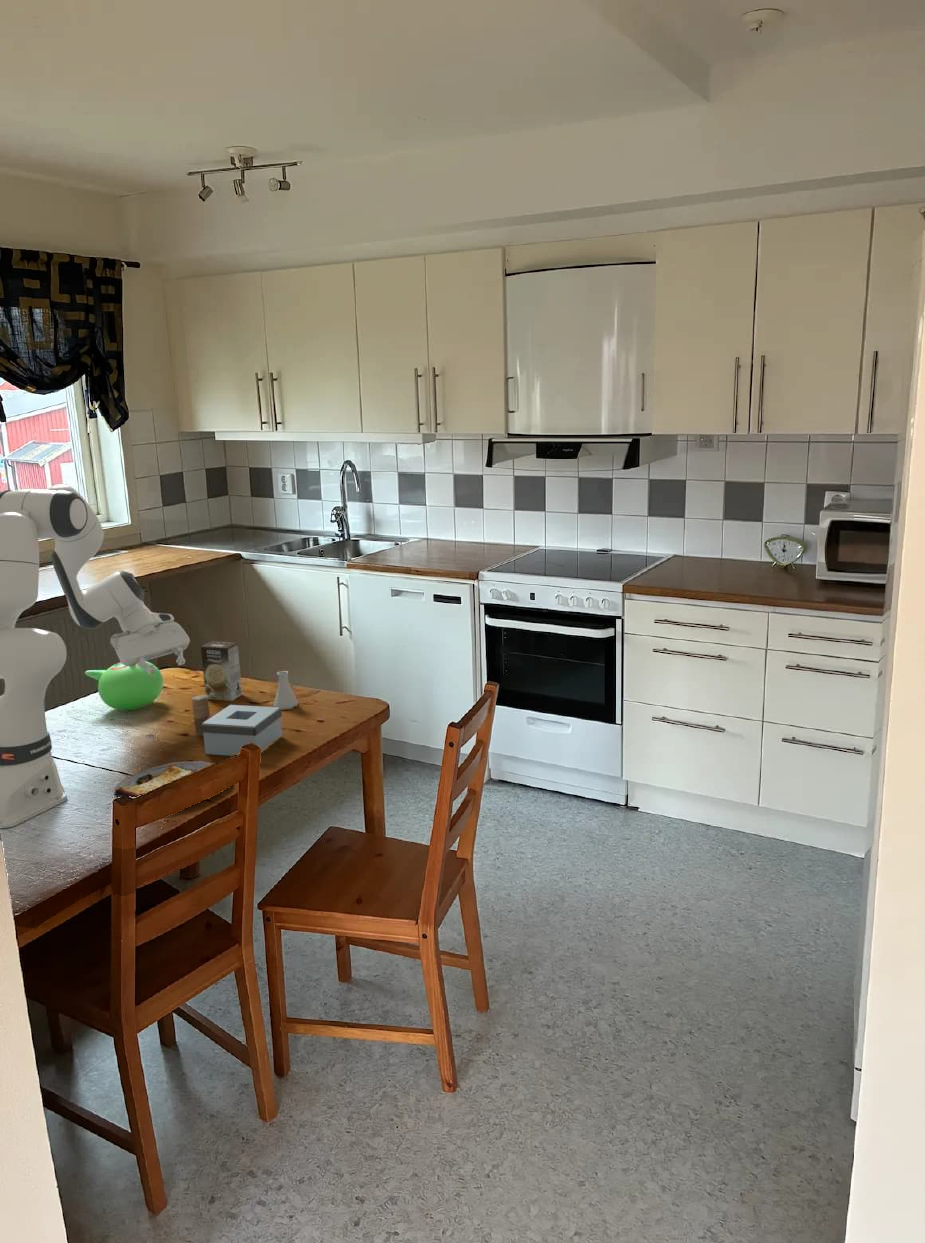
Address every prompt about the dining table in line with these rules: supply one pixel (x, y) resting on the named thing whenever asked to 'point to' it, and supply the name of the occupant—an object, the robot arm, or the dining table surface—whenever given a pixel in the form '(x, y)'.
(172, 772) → the food plate
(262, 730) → the collar block
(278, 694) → the flask
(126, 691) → the toy bird
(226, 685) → the coffee box
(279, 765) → the dining table surface
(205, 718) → the beige cylinder
